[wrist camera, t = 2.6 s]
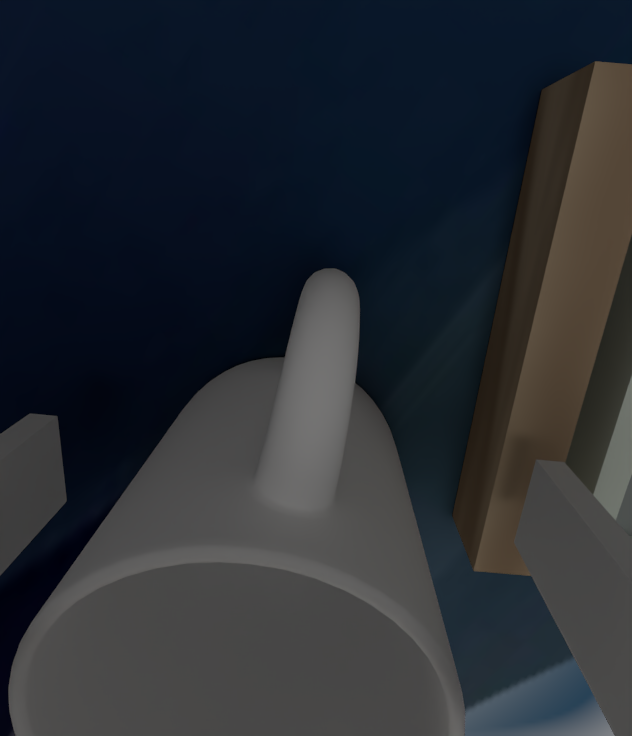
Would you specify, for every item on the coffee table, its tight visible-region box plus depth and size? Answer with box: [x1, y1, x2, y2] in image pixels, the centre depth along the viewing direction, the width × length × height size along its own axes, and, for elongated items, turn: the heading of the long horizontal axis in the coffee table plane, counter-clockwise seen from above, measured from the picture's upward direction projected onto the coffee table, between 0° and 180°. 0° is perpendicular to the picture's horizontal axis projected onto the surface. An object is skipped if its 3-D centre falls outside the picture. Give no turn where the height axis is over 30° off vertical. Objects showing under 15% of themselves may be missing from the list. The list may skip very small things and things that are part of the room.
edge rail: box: [452, 61, 632, 576], centre depth 15 cm, size 2×15×3 cm, turn 175°
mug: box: [8, 268, 465, 736], centre depth 13 cm, size 12×8×10 cm
